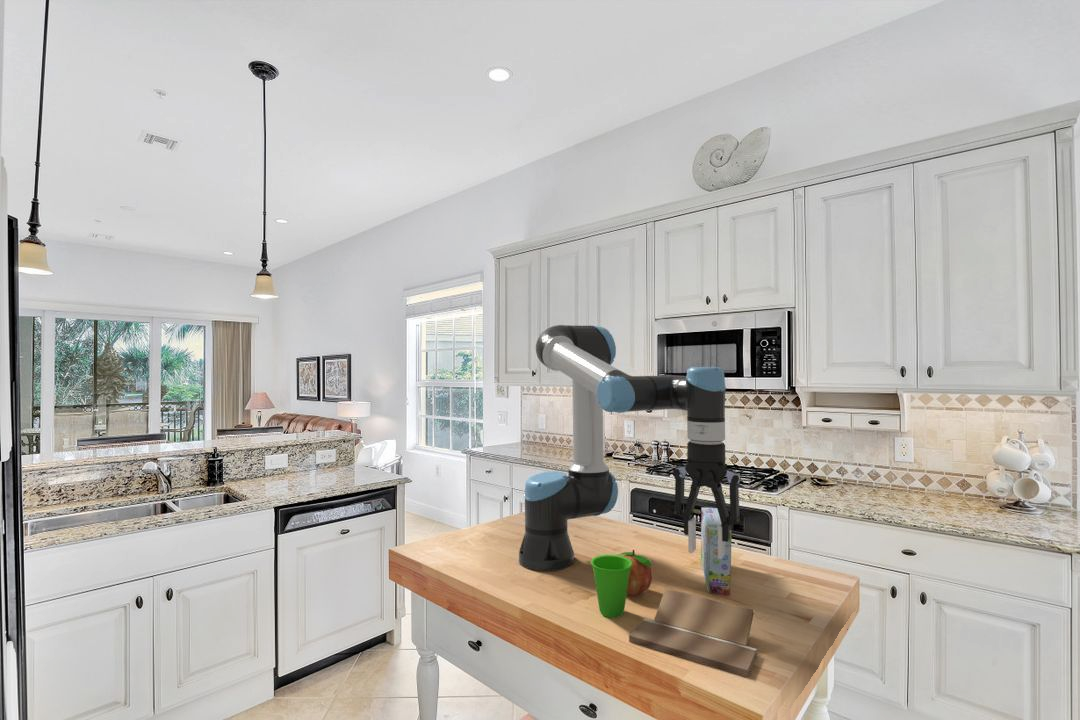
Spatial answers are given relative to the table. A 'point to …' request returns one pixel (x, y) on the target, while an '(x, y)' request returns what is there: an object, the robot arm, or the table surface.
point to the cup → (611, 583)
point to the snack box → (714, 554)
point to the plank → (705, 616)
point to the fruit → (638, 574)
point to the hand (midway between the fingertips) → (706, 553)
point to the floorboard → (695, 646)
